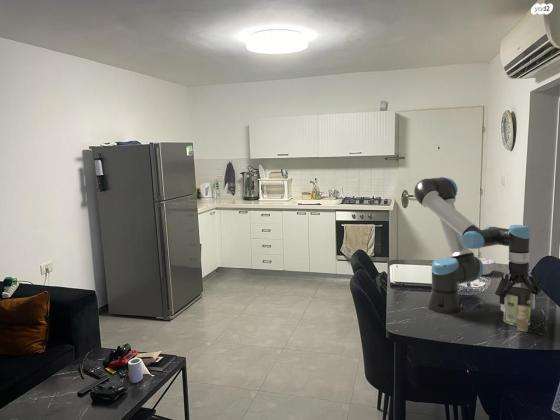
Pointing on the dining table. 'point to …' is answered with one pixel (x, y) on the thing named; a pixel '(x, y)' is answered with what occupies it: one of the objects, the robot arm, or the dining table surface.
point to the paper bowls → (487, 265)
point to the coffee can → (516, 304)
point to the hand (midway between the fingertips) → (517, 309)
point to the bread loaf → (522, 318)
